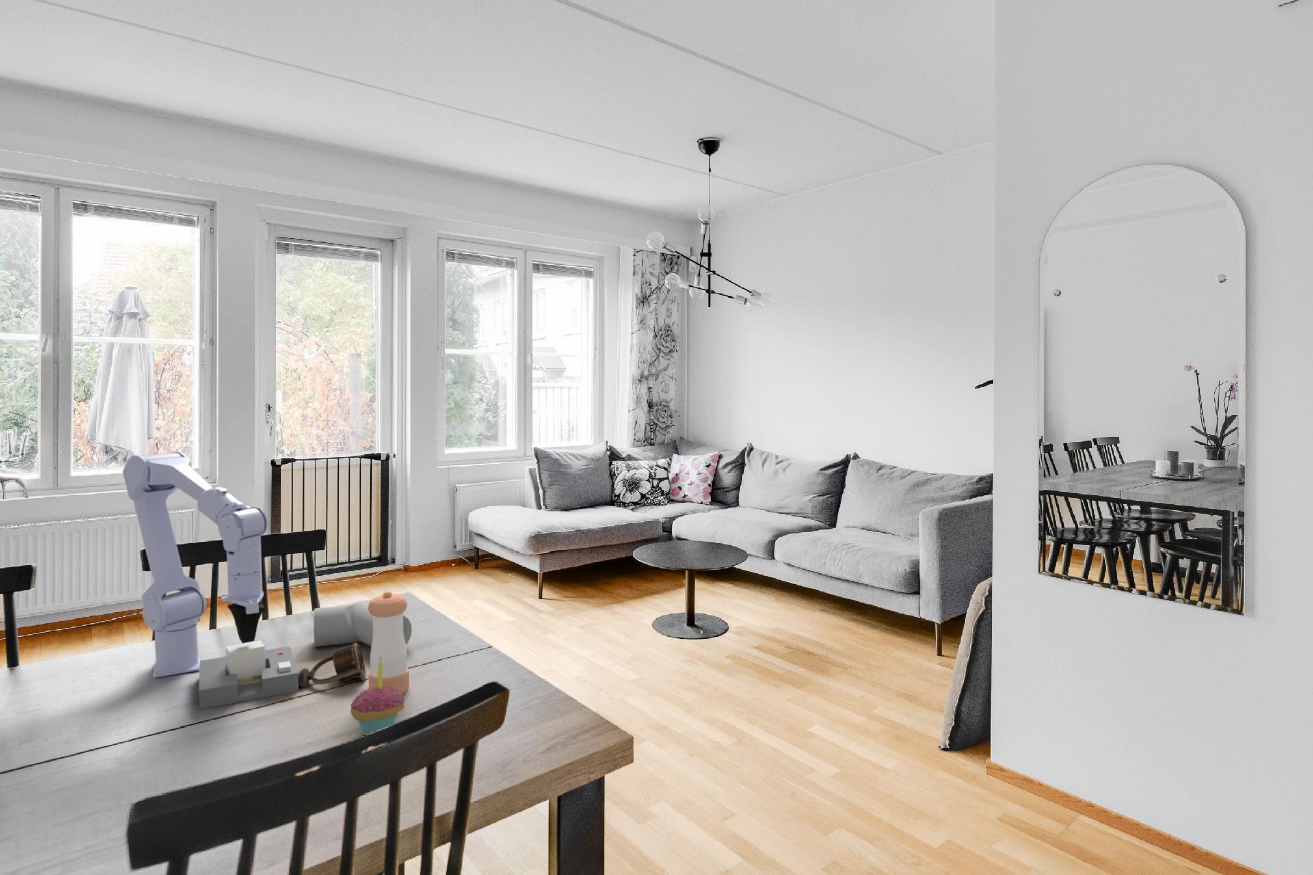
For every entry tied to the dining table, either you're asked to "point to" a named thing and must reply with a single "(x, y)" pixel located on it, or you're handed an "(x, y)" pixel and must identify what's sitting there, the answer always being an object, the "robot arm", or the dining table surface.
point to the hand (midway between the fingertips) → (247, 640)
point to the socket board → (247, 680)
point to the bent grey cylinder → (348, 625)
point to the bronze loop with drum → (338, 666)
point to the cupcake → (377, 706)
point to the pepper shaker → (388, 642)
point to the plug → (246, 660)
